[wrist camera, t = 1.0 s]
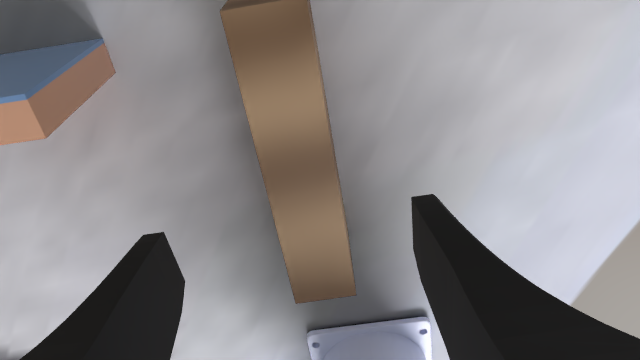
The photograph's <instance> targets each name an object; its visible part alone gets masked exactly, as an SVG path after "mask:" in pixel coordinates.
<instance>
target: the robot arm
mask: <svg viewBox="0 0 640 360" xmlns="http://www.w3.org/2000/svg"><path fill="white" fill-rule="evenodd" d="M411 199H412V224H413V250H414V254H415V258H416V262H417V267H418V271H419V275H420V279H421V282H422V285H423V288H424V290H425V293H426V296H427V298H428V301H429V304H430V306H431V309H432V312H433V314H434V317H435V320H436V322H437V325H438V328H439V330H440V333H441V335H442V338H443V341H444V343H445V346H446V349H447V352H448V355H449V358H450V360H640V339H639V338H636V337H634V336H632V335H629V334H627V333H625V332H622V331H620V330H618V329H615V328H613V327H611V326H609V325H606V324H604V323H602V322H600V321H598V320H596V319H594V318H592V317H590V316H588V315H586V314H584V313H582V312H580V311H578V310H576V309H575V308H573V307H571V306H569V305H567V304H566V303H564V302H562V301H561V300H559V299H557V298H556V297H554V296H552V295H551V294H549V293H547V292H545V291H544V290H542V289H541V288H539V287H537V286H536V285H534V284H533V283H531V282H530V281H528V280H527V279H526V278H524V277H523V276H521V275H520V274H519V273H517V272H516V271H515V270H513V269H512V268H511V267H509V266H508V265H507V264H506V263H504V262H503V261H502V260H500V259H499V258H498V257H497V256H496V255H495V254H493V253H492V252H491V251H490V250H489V249H487V248H486V247H485V246H484V245H483V244H482V243H481V242H480V241H479V240H478V239H476V238H475V237H474V236H473V235H472V234H471V233H470V232H469V231H468V230H467V229H466V228H465V227H464V226H463V225H462V224H461V223H460V222H459V221H458V220H457V219H456V218H455V217H454V216H453V215H452V214H451V213H450V211H449V210H448V209H447V208H446V207H445V206H444V205H443V204H442V202H441V201H440V200H439V199H438V198H437V197H436V196H435V195H434V194H430V195H423V196H416V197H411ZM184 287H185V280H184V277H183V275H182V273H181V271H180V268H179V266H178V264H177V261H176V259H175V257H174V255H173V252H172V250H171V248H170V245H169V243H168V241H167V238H166V236H165V234H164V232H161V233H154V234H147V235H143V236H142V237H141V238H140V239H139V240H138V241H137V242H136V243H135V245H134V246H133V247H132V248H131V249H130V250H129V252H128V253H127V254H126V255H125V256H124V257H123V258H122V260H121V261H120V262H119V263H118V264H117V265H116V267H115V268H114V269H113V270H112V271H111V272H110V273H109V275H108V276H107V277H106V278H105V279H104V280H103V281H102V282H101V284H100V285H99V286H98V287H97V288H96V289H95V290H94V291H93V292H92V293H91V294H90V295H89V296H88V297H87V298H86V300H85V301H84V302H83V303H82V304H81V305H80V306H79V307H78V308H77V309H76V310H75V311H74V312H73V313H72V314H71V315H70V316H69V317H68V318H67V319H66V320H65V321H64V322H63V323H62V324H61V325H60V326H59V327H57V328H56V329H55V330H54V331H53V332H52V333H51V334H50V335H49V336H47V337H46V338H45V339H44V340H43V341H42V342H41V343H39V344H38V345H37V346H36V347H35V348H34V349H32V350H31V351H30V352H29V353H27V354H26V355H25V356H23V357H22V358H21V359H20V360H170V357H171V353H172V350H173V346H174V342H175V338H176V334H177V330H178V326H179V322H180V318H181V313H182V306H183V297H184ZM421 329H423V330H421ZM307 342H308V347H309V351H310V355H311V360H432V343H431V324H430V321H429V319H428V318H427V317H416V318H408V319H400V320H392V321H384V322H376V323H368V324H360V325H352V326H344V327H336V328H328V329H320V330H313V331H310V332H309V333H308V334H307ZM315 342H317V343H315Z"/></svg>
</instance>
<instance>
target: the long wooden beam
mask: <svg viewBox="0 0 640 360" xmlns="http://www.w3.org/2000/svg"><path fill="white" fill-rule="evenodd" d="M220 14H221V18H222V22H223V26H224V30H225V34H226V37H227V41H228V45H229V49H230V53H231V57H232V60H233V64H234V68H235V72H236V76H237V80H238V84H239V87H240V91H241V95H242V99H243V103H244V107H245V110H246V114H247V118H248V122H249V126H250V130H251V133H252V137H253V141H254V145H255V149H256V153H257V157H258V160H259V164H260V168H261V172H262V176H263V180H264V183H265V187H266V191H267V195H268V199H269V203H270V207H271V210H272V214H273V218H274V222H275V226H276V230H277V233H278V237H279V241H280V245H281V249H282V253H283V256H284V260H285V264H286V268H287V272H288V276H289V280H290V283H291V287H292V291H293V295H294V299H295V303H296V304H298V303H305V302H312V301H319V300H326V299H333V298H340V297H348V296H355V295H356V289H355V281H354V274H353V266H352V258H351V251H350V243H349V236H348V229H347V223H346V217H345V211H344V205H343V199H342V193H341V187H340V181H339V175H338V169H337V163H336V157H335V151H334V144H333V138H332V132H331V126H330V120H329V114H328V108H327V102H326V96H325V90H324V84H323V78H322V72H321V66H320V59H319V53H318V47H317V41H316V35H315V29H314V23H313V17H312V11H311V5H310V0H228V1H227V2H226V3H225V5H224V6H223V7H222V9H221V10H220Z"/></svg>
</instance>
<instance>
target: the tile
mask: <svg viewBox="0 0 640 360" xmlns="http://www.w3.org/2000/svg"><path fill="white" fill-rule="evenodd" d="M115 73H116V72H115V70H114V67H113V64H112V62H111V59H110V56H109V54H108V51H107V48H106V46H105V43H104V40H103V38H101V39H94V40H88V41H82V42H75V43H69V44H63V45H56V46H50V47H44V48H38V49H31V50H25V51H19V52H12V53H6V54H0V145H5V144H11V143H18V142H25V141H31V140H38V139H45V138H47V137H48V136H49V135H50V134H51V133H52V132H53V131H54V130H55V129H56V128H58V127H59V126H60V125H61V124H62V123H63V122H64V121H65V120H66V119H67V118H68V117H69V116H70V115H71V114H72V113H73V112H74V111H76V110H77V109H78V108H79V107H80V106H81V105H82V104H83V103H84V102H85V101H86V100H87V99H88V98H89V97H90V96H91V95H92V94H94V93H95V92H96V91H97V90H98V89H99V88H100V87H101V86H102V85H103V84H104V83H105V82H106V81H107V80H108V79H109V78H110V77H112V76H113V75H114V74H115Z"/></svg>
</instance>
